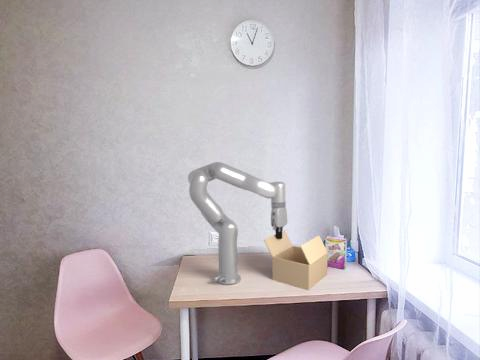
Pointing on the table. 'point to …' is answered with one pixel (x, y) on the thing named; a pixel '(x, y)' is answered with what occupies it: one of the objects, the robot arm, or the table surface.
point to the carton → (298, 268)
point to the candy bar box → (336, 252)
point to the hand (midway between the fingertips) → (279, 238)
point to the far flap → (277, 244)
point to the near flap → (313, 249)
